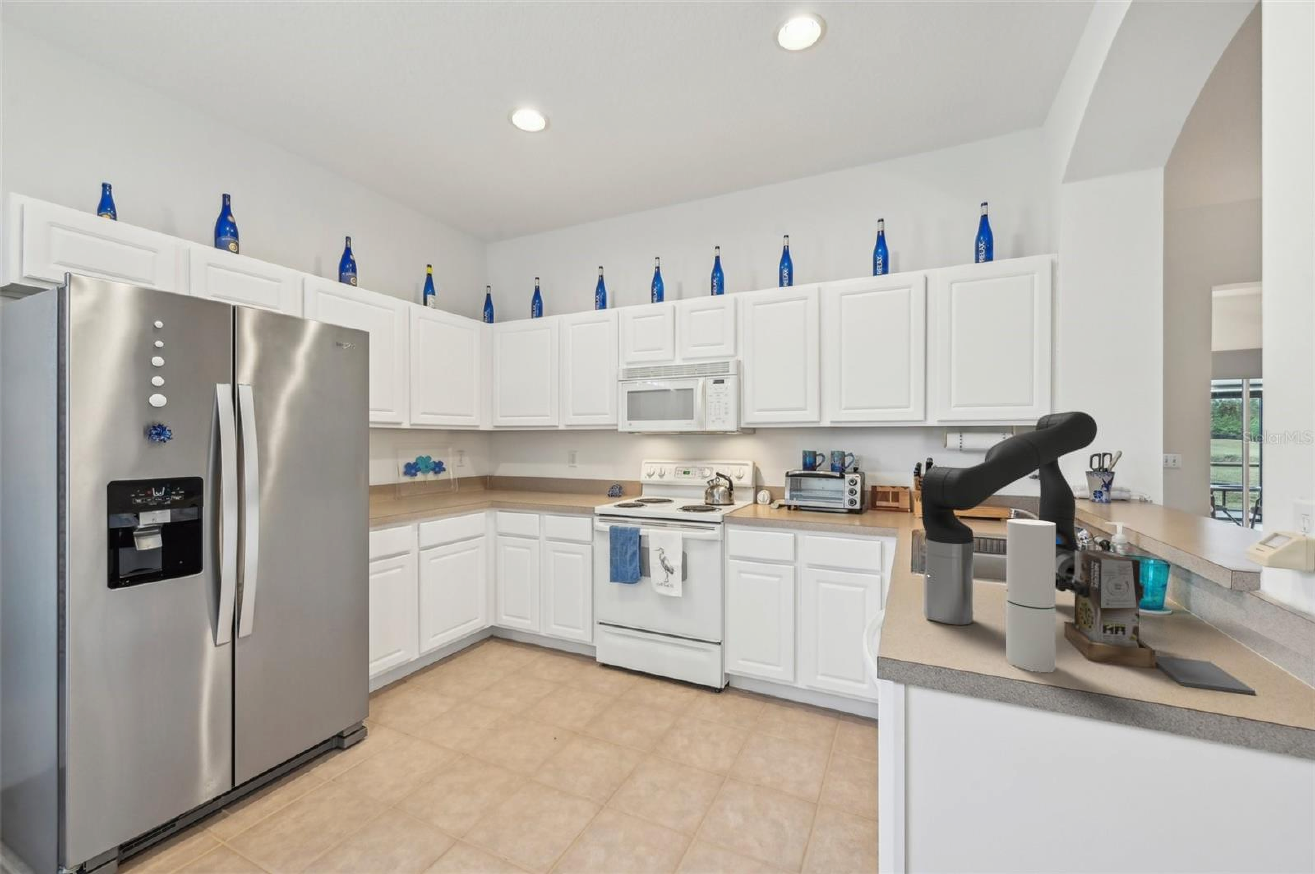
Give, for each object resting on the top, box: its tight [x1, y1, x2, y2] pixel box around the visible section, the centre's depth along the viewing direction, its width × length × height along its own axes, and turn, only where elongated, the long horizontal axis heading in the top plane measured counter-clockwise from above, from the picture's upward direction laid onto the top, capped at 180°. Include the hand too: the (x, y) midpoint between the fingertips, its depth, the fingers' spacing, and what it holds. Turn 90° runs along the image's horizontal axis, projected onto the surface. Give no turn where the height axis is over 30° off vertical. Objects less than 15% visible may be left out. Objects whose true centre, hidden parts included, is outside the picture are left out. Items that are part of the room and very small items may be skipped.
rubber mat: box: [1155, 654, 1256, 696], centre depth 92 cm, size 9×12×1 cm
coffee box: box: [1074, 549, 1142, 648], centre depth 102 cm, size 9×6×16 cm
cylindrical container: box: [1005, 518, 1057, 673], centre depth 97 cm, size 7×7×25 cm
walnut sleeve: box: [1063, 620, 1157, 669], centre depth 102 cm, size 10×13×3 cm
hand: (1110, 594), depth 100 cm, fingers closed on coffee box, 7 cm apart
